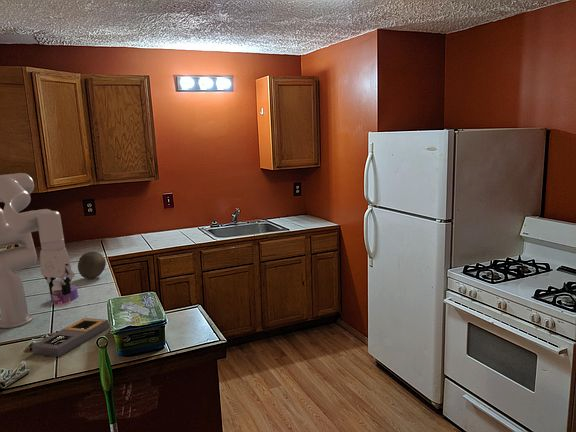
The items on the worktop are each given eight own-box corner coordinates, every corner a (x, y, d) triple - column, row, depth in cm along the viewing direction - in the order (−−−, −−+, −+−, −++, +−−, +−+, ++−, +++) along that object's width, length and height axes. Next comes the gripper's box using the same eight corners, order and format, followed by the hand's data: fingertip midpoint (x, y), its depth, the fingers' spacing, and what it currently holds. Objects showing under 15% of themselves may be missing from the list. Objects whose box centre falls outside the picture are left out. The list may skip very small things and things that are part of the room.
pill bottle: (50, 307, 161) (46, 282, 159) (61, 302, 166) (57, 277, 165) (63, 307, 160) (59, 282, 158) (73, 302, 165) (69, 277, 163)
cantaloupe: (86, 283, 238) (82, 256, 236) (75, 279, 248) (71, 253, 245) (111, 276, 248) (108, 250, 246) (100, 273, 258) (96, 247, 255)
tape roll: (79, 299, 214) (78, 289, 213) (52, 305, 208) (50, 295, 207) (76, 293, 224) (75, 283, 223) (50, 299, 218) (49, 289, 217)
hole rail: (32, 353, 158) (31, 345, 157) (85, 324, 181) (84, 317, 180) (58, 356, 154) (57, 348, 153) (109, 327, 177) (108, 319, 176)
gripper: (26, 247, 159) (34, 295, 162) (62, 248, 153) (70, 299, 156) (44, 242, 166) (52, 288, 169) (79, 243, 160) (86, 291, 163)
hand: (60, 293), depth 162 cm, fingers closed on pill bottle, 5 cm apart
